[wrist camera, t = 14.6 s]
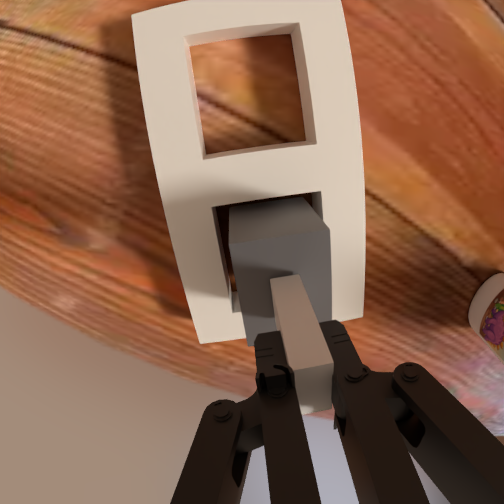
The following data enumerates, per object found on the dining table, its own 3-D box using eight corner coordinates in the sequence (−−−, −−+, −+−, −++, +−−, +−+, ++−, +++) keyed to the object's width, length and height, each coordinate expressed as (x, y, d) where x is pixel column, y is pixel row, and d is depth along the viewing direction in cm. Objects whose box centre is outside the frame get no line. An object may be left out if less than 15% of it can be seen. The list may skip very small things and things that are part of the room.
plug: (242, 280, 25) (248, 346, 18) (229, 201, 23) (228, 244, 15) (304, 270, 25) (332, 332, 18) (298, 191, 23) (330, 229, 15)
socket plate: (202, 321, 27) (200, 343, 24) (143, 26, 17) (131, 14, 14) (351, 297, 27) (362, 316, 24) (325, 3, 17) (338, -10, 14)
